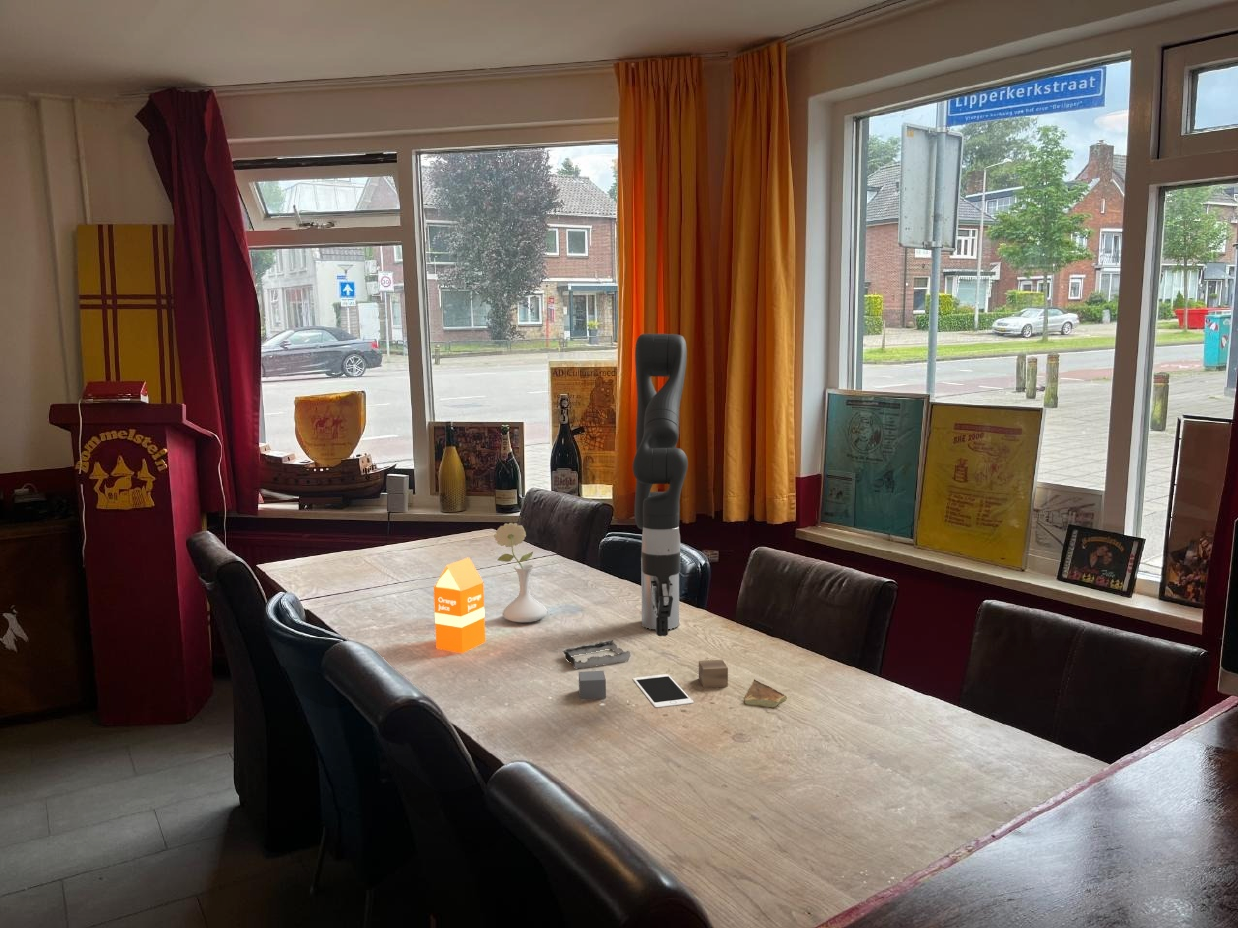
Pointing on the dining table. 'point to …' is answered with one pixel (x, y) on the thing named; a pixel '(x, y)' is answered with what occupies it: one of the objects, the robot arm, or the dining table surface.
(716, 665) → the walnut block
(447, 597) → the orange juice
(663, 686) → the cell phone
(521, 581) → the flower in vase
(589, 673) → the charcoal block
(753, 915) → the dining table surface
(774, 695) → the shard
